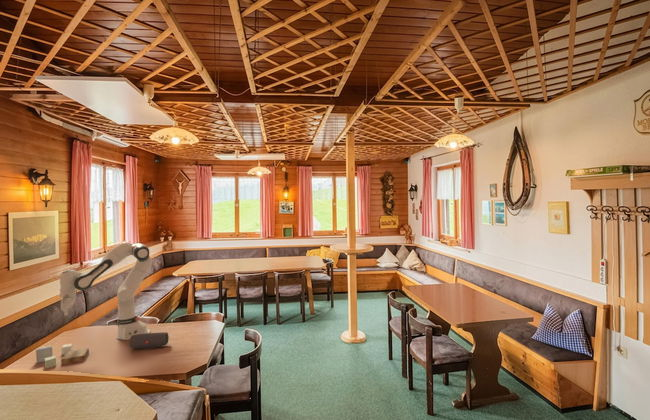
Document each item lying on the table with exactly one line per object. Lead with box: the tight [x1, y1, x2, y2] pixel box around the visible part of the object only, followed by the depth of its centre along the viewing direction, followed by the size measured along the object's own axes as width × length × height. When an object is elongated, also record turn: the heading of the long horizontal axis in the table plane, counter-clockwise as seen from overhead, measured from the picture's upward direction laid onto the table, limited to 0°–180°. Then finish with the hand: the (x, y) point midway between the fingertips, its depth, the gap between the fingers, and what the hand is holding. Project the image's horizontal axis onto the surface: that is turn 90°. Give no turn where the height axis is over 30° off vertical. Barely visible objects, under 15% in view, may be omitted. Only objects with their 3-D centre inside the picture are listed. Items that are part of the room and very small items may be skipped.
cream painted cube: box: [61, 343, 74, 356], centre depth 225 cm, size 5×5×5 cm
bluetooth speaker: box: [129, 331, 170, 350], centre depth 229 cm, size 23×9×10 cm, turn 99°
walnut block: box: [60, 348, 90, 366], centre depth 215 cm, size 12×12×4 cm
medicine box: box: [35, 344, 54, 364], centre depth 214 cm, size 8×4×9 cm, turn 129°
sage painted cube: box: [44, 355, 57, 369], centre depth 206 cm, size 5×5×5 cm
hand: (68, 313), depth 228 cm, fingers open, 8 cm apart
